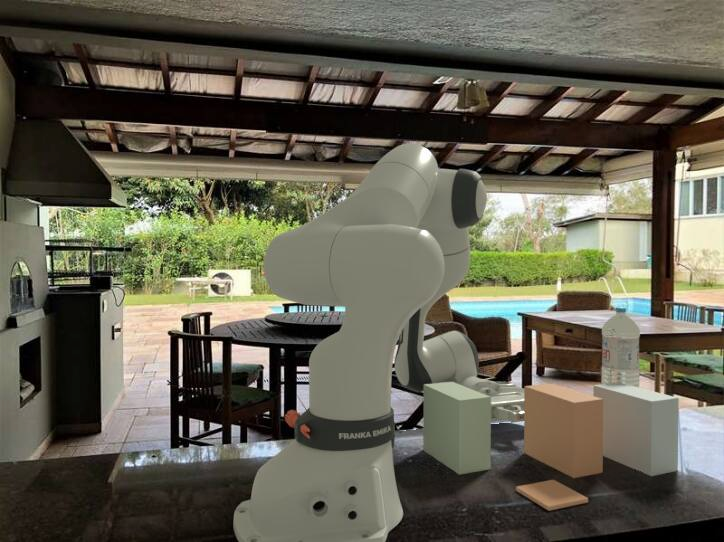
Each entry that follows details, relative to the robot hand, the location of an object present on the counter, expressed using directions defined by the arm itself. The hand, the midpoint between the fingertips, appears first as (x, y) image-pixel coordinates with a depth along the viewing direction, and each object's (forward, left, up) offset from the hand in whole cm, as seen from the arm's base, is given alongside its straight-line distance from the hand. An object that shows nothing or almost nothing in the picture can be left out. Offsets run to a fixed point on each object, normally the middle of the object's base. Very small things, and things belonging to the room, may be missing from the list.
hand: (520, 417), depth 101 cm
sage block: (-16, -3, -5) cm, 17 cm away
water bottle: (+22, -3, -5) cm, 23 cm away
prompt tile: (-11, -21, -5) cm, 24 cm away
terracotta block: (0, -11, -5) cm, 12 cm away
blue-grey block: (+12, -15, -5) cm, 20 cm away
